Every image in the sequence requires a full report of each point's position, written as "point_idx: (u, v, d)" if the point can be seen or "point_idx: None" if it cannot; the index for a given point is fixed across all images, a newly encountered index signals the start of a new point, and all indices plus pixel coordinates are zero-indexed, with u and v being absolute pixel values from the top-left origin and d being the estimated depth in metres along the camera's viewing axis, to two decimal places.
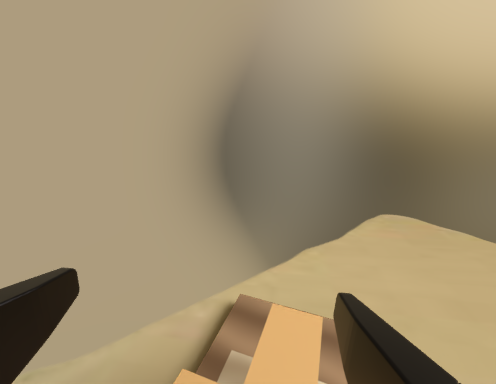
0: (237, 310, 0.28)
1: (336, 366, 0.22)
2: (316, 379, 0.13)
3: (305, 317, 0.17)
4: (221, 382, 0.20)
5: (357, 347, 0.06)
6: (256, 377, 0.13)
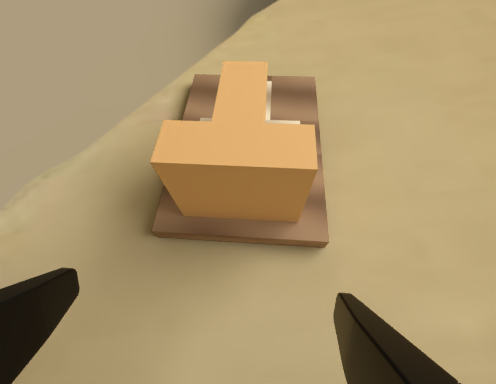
0: (196, 88, 0.30)
1: (283, 108, 0.28)
2: (264, 102, 0.17)
3: (253, 65, 0.19)
4: None
5: (357, 347, 0.06)
6: (220, 111, 0.17)
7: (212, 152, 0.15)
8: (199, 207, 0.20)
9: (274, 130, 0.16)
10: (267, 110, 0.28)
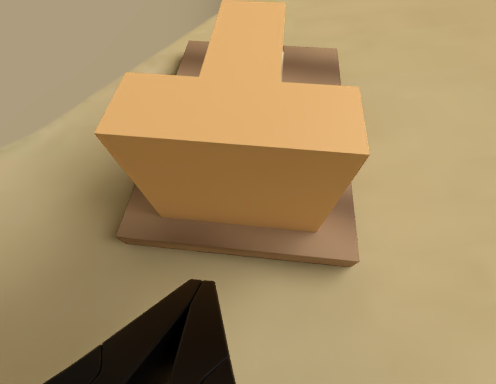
0: (189, 57, 0.24)
1: None
2: (280, 53, 0.11)
3: (264, 6, 0.13)
4: None
5: None
6: (213, 63, 0.11)
7: (197, 121, 0.10)
8: (181, 207, 0.15)
9: (296, 92, 0.10)
10: None
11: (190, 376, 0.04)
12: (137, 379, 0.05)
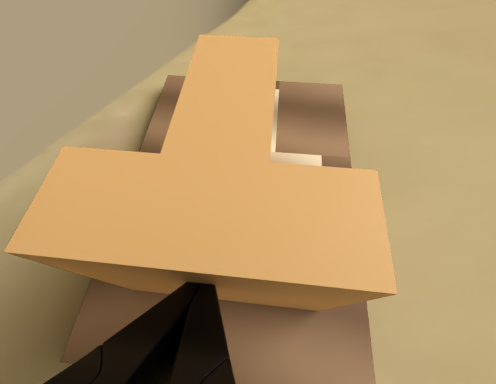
0: (168, 97, 0.21)
1: (296, 133, 0.19)
2: (271, 115, 0.09)
3: (252, 43, 0.11)
4: None
5: None
6: (181, 132, 0.08)
7: (150, 230, 0.07)
8: (152, 289, 0.12)
9: (291, 180, 0.07)
10: None
11: (190, 376, 0.04)
12: (137, 379, 0.05)
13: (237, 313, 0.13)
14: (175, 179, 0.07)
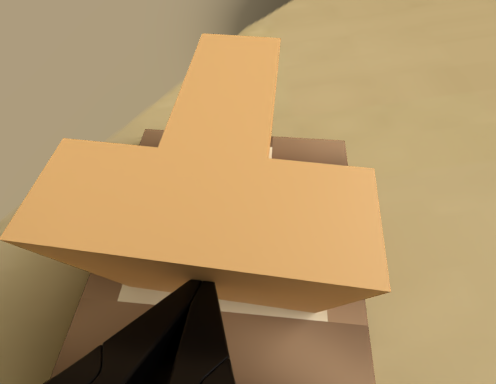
0: None
1: None
2: (269, 112, 0.09)
3: (254, 42, 0.11)
4: None
5: None
6: (180, 127, 0.08)
7: (145, 222, 0.07)
8: (148, 285, 0.12)
9: (287, 176, 0.07)
10: None
11: (190, 376, 0.04)
12: (137, 379, 0.05)
13: None
14: (171, 172, 0.08)
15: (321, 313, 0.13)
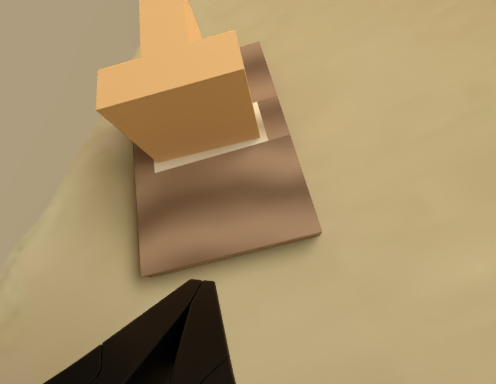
0: None
1: None
2: (185, 23, 0.18)
3: None
4: None
5: None
6: (147, 45, 0.18)
7: (147, 84, 0.16)
8: (166, 148, 0.22)
9: (199, 46, 0.17)
10: None
11: (190, 376, 0.04)
12: (137, 379, 0.05)
13: (231, 217, 0.21)
14: (151, 64, 0.17)
15: (264, 138, 0.23)
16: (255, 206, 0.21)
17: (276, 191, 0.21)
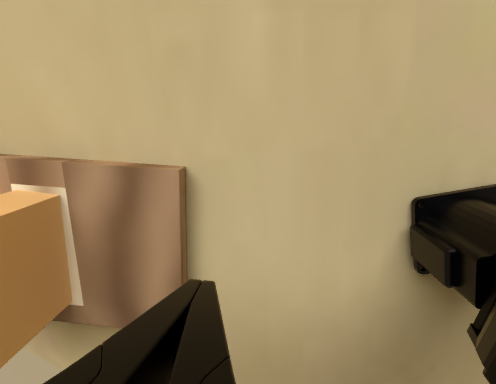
0: None
1: None
2: None
3: None
4: None
5: None
6: None
7: None
8: (52, 298, 0.20)
9: None
10: None
11: (190, 376, 0.04)
12: (137, 379, 0.05)
13: (145, 248, 0.20)
14: None
15: (61, 191, 0.19)
16: (138, 223, 0.20)
17: (126, 198, 0.19)
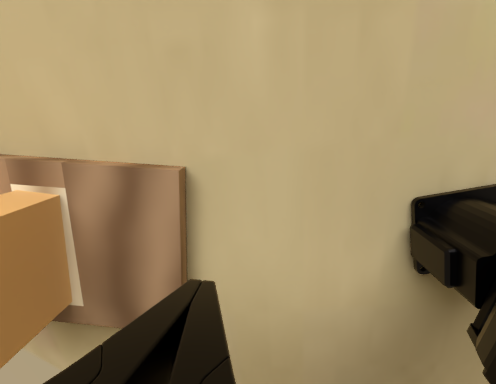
0: None
1: None
2: None
3: None
4: None
5: None
6: None
7: None
8: (52, 299, 0.20)
9: None
10: None
11: (190, 376, 0.04)
12: (137, 379, 0.05)
13: (144, 249, 0.20)
14: None
15: (61, 191, 0.19)
16: (138, 223, 0.20)
17: (126, 198, 0.19)
